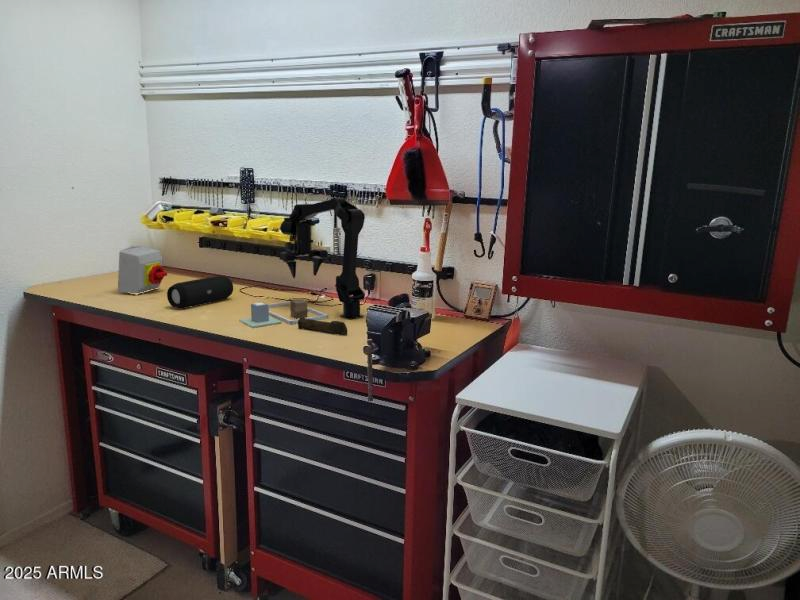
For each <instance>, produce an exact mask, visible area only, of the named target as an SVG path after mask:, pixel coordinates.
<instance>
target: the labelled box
mask: <svg viewBox="0 0 800 600" xmlns="http://www.w3.org/2000/svg"><path fill="white" fill-rule="evenodd" d="M268 304H269V303H267V302H266V303H265V302H263V301H262V302H255V303H250V312H251V314H250V315H251V316H250V318H251V320H252V321H254V322H256V323H260V322H266V321H269V316H270V315H269V311H270V310H269V309H270V308H268Z"/></svg>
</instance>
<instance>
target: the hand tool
mask: <svg viewBox="0 0 800 600" xmlns="http://www.w3.org/2000/svg"><path fill="white" fill-rule="evenodd" d="M297 326H298V329H302V328H304V329H308V330H314V331H319V332H320V331H321V332H327V333H330V334H331V333H332V334H331V335H334V334H339V335H338V336H347V335H348V327H347V325H346V323H345V322H344V321H339V320H332V321H330V322H329V321H324V320H322V321H321V320H312V319H305V318H304V317H303V318H300V319H299V320H298V323H297Z"/></svg>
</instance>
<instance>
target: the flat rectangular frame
mask: <svg viewBox="0 0 800 600" xmlns="http://www.w3.org/2000/svg"><path fill="white" fill-rule="evenodd" d="M290 301H291V300H289V301H283V302H275V303H267V304H268V308H269V309H270V308H276V307H282V306H283V307H284V306H290ZM307 312H309V313H311V314H314V315H316V316H312V317H311V316H310V317H307V318H305V319H312V320H316V321H321V320H326V318H327V319H329V314H326V313H325V312H321V311H318V310H316V309H313V308H311V307H308V306H307ZM269 316H270V317H272V316H273V317H272V318H274V317H275V318H274V319H277V320H279V319H280V320H279V321H281V320H282V321H281V322H283V321H284V322H283V323H286V324H288V323H289V324H288V325H290V324H291V325H296V324H295V323H297V324H298V320H299V319H293V320H291V319H288V318H286V317H284V316H281V314H277V313H275V312H273V311H271V310H269ZM320 319H321V320H320Z"/></svg>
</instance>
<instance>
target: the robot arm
mask: <svg viewBox="0 0 800 600" xmlns="http://www.w3.org/2000/svg"><path fill="white" fill-rule="evenodd" d="M331 211H334V213H335V216H336V217H337V218H338V219H339V220H340V224H341V225H340V227H341V229H342V231H343V232H344V233H343V234H344V239H343V240H344V242H343V255H342V267H341V268H342V270H341V273H340V275H336V276H335V285H334V288H335V290H336V293H337V297H338V301H339V302H340V303H342V304H343V306H342V308H343V311H342V313H341V314H339V315H340V317H342V318H344V319H346V320H353V319H360V318H364V315H363V314H361V301H363V300H365V296H366V294H365V293H364V291H363V290H362V288H361V287H360V280H359V277H358V275H357V271H356V270H357V260H358V259H357V258H358V247H359V246H358V245H359V235H360V233H361V231H362V229H363V228H364V224H365V218H366V217H365V216H366V215H365V213H364V212H363V210H361V209H360V208H358V207H357V206H356V205H353V204H352V203H350V202H349V201H348V200H346V199H345V198H344V197H333V198H331V199H327V200H324V201H320V202H315V203H302V204H301V203H300V204H299V203H297V204H295V205H294V206H293V209H292V211H291V213H290V215H289V217H288V216H287V217H284V218H283V221H282V222H281V224H280V226H279V229H280V232H281V233H282V234H283V235H285V236H294V237H295V238H294V243H292V242H291V241H288V242H285V243H284V250H285V251H281V252H280V253H279V255H278V256H279V260H281V261H282V262H284V263H286V264H287V266H288V268H289V270H290V274H291V276H292V278H293V279H296V273H297V272H296V271H297V260H296V259H299V258H300V259H301V258H307V257H308V258H309V257H311V258H312V262H313V265H312V266H313V267H312V268H313V269H312V270H313V274H312V275H313V276H314V277H315V276H317V274H318V272H319V270H320V267H321V265H322V264H323V262H324V260H326V258H329V252H328V250H327V249H324V248H323V249H322V248H316V249H315V248H314V249H312V243H314V239H312V226H313V227H314V226H316V223H315V222H314V221H313V220H312V218H315V217H316V216H317V215H319V214H322V213H326V212H331Z"/></svg>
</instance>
